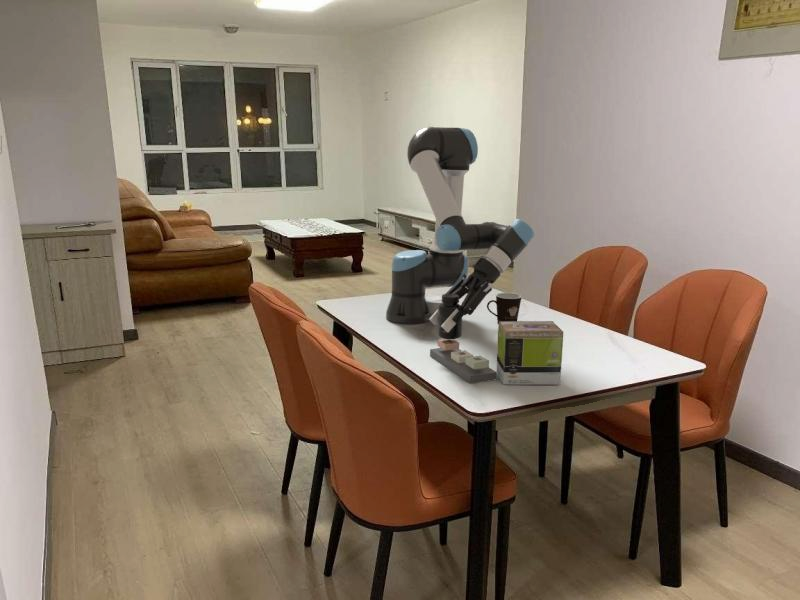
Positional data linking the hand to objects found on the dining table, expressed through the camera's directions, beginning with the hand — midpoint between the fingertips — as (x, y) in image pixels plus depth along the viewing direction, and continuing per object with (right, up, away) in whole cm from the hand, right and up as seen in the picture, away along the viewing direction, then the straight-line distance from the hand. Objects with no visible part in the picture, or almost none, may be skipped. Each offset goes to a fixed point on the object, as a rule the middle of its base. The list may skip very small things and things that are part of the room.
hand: (438, 325), depth 178 cm
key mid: (+6, -9, -4) cm, 12 cm away
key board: (+6, -11, -3) cm, 13 cm away
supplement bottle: (+3, -3, +2) cm, 5 cm away
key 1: (+3, -6, +3) cm, 8 cm away
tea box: (+23, -14, -10) cm, 29 cm away
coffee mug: (+24, -1, +40) cm, 47 cm away
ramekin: (+2, +2, +52) cm, 53 cm away
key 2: (+9, -10, -11) cm, 18 cm away
